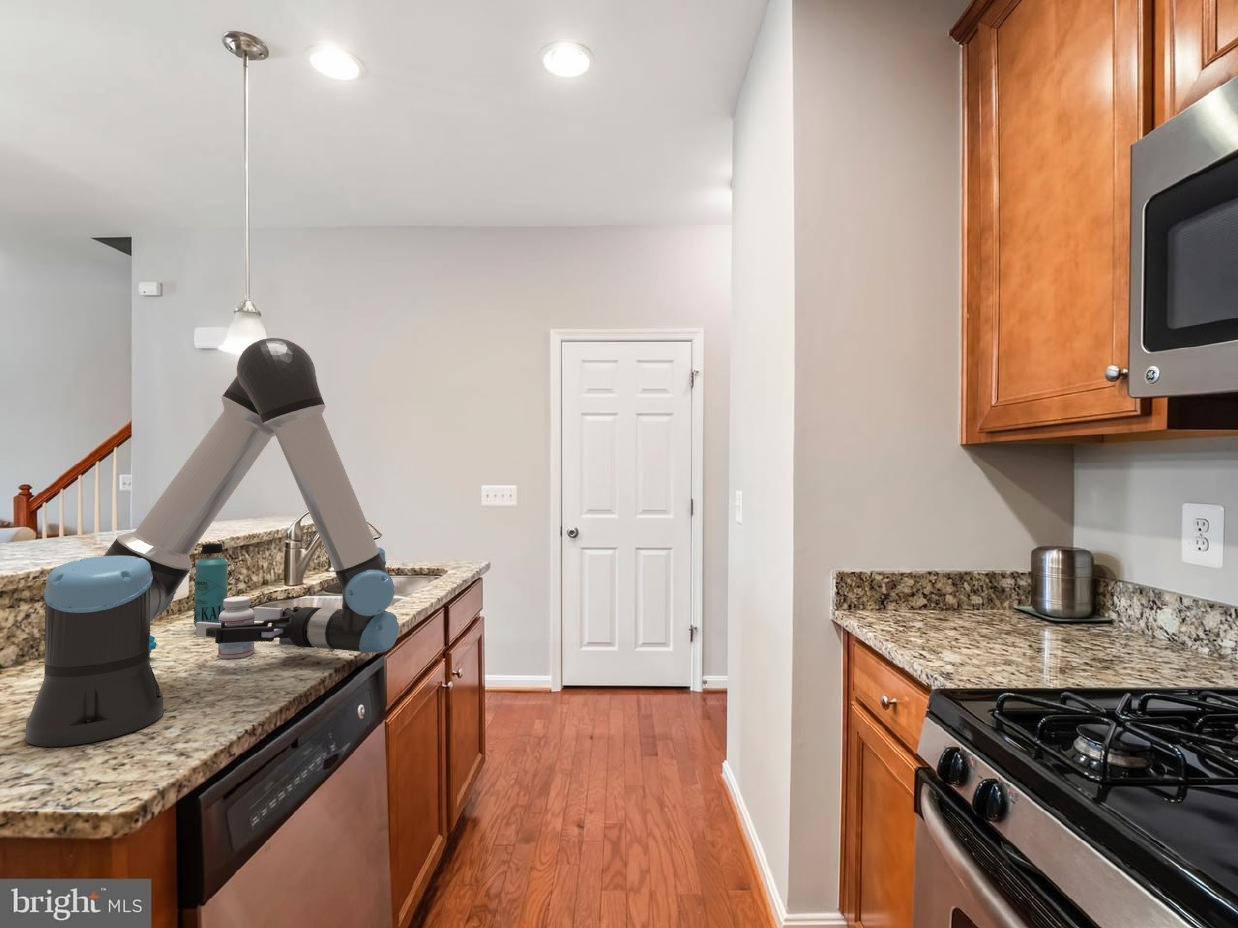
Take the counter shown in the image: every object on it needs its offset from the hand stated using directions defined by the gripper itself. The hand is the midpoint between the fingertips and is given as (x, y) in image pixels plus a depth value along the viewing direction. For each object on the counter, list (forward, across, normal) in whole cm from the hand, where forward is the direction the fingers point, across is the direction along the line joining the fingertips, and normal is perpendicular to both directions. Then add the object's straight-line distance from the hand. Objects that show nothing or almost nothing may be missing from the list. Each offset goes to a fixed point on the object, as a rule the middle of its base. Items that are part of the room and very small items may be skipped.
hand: (227, 620), depth 124 cm
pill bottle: (-2, 0, -7) cm, 7 cm away
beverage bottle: (+19, +14, -7) cm, 24 cm away
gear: (+14, -10, -7) cm, 19 cm away
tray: (-10, +15, -6) cm, 19 cm away
